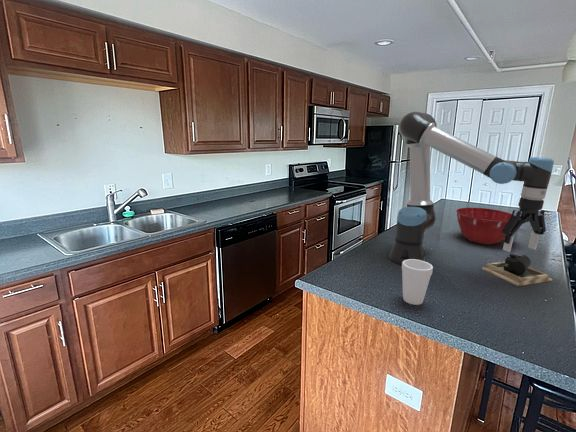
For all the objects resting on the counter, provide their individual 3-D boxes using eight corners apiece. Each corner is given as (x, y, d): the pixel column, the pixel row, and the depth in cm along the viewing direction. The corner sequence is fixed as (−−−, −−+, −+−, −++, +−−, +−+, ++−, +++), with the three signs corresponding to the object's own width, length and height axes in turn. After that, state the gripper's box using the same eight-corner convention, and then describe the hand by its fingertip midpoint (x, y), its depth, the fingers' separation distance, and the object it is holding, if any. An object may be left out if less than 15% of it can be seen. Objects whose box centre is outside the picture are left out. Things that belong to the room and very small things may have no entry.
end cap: (523, 278, 124) (527, 262, 122) (502, 273, 129) (505, 257, 127) (528, 271, 131) (532, 256, 129) (508, 266, 136) (511, 251, 134)
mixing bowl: (508, 254, 153) (515, 223, 150) (445, 240, 171) (450, 213, 168) (515, 240, 174) (521, 213, 170) (459, 229, 192) (463, 205, 188)
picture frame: (517, 286, 120) (518, 280, 119) (481, 269, 135) (482, 263, 134) (552, 280, 125) (553, 275, 124) (513, 265, 140) (515, 259, 139)
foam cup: (420, 293, 113) (425, 259, 110) (432, 307, 104) (438, 270, 101) (394, 293, 112) (398, 259, 109) (404, 307, 104) (409, 270, 100)
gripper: (517, 201, 115) (504, 255, 121) (565, 199, 122) (551, 251, 128) (498, 196, 122) (487, 248, 128) (545, 195, 129) (532, 244, 135)
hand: (519, 249), depth 128 cm, fingers open, 13 cm apart
